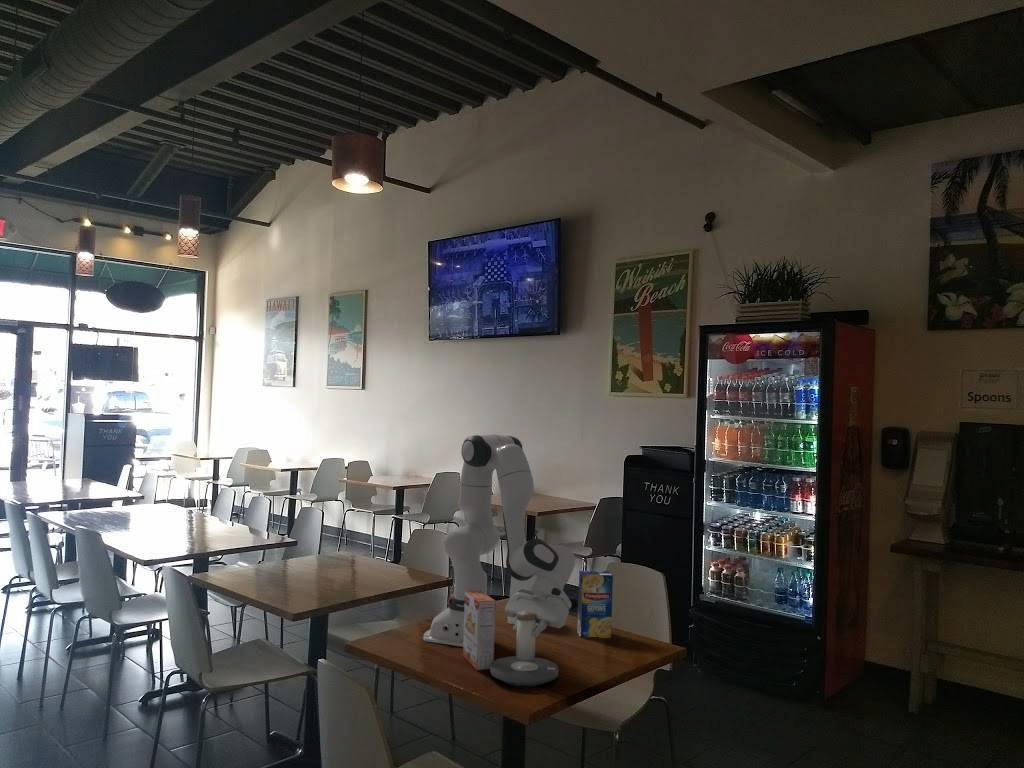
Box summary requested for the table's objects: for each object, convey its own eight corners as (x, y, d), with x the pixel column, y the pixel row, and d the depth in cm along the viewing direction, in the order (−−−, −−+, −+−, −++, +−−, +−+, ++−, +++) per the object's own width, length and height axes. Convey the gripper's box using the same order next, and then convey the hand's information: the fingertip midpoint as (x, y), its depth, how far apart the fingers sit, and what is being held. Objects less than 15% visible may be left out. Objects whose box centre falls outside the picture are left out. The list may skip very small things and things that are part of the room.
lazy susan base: (496, 684, 217) (496, 679, 217) (504, 668, 230) (504, 663, 230) (544, 688, 214) (545, 683, 214) (550, 672, 228) (550, 667, 228)
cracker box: (461, 657, 240) (464, 590, 241) (479, 655, 242) (481, 589, 243) (475, 671, 227) (477, 600, 228) (494, 669, 229) (496, 599, 230)
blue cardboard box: (611, 637, 268) (613, 575, 269) (580, 637, 267) (582, 574, 268) (606, 632, 275) (608, 571, 276) (577, 632, 274) (579, 570, 275)
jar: (514, 658, 220) (515, 615, 221) (516, 652, 226) (518, 610, 227) (533, 660, 219) (535, 617, 220) (536, 654, 225) (537, 612, 226)
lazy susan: (484, 680, 214) (484, 674, 214) (496, 658, 234) (496, 653, 234) (554, 687, 211) (554, 680, 211) (561, 664, 231) (561, 658, 231)
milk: (515, 616, 293) (518, 548, 294) (544, 619, 290) (546, 550, 291) (507, 623, 282) (509, 553, 283) (537, 627, 279) (539, 555, 280)
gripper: (513, 582, 235) (492, 620, 227) (568, 593, 223) (548, 633, 215) (522, 594, 239) (501, 632, 231) (576, 605, 226) (557, 646, 218)
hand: (524, 633), depth 223 cm, fingers closed on jar, 5 cm apart
